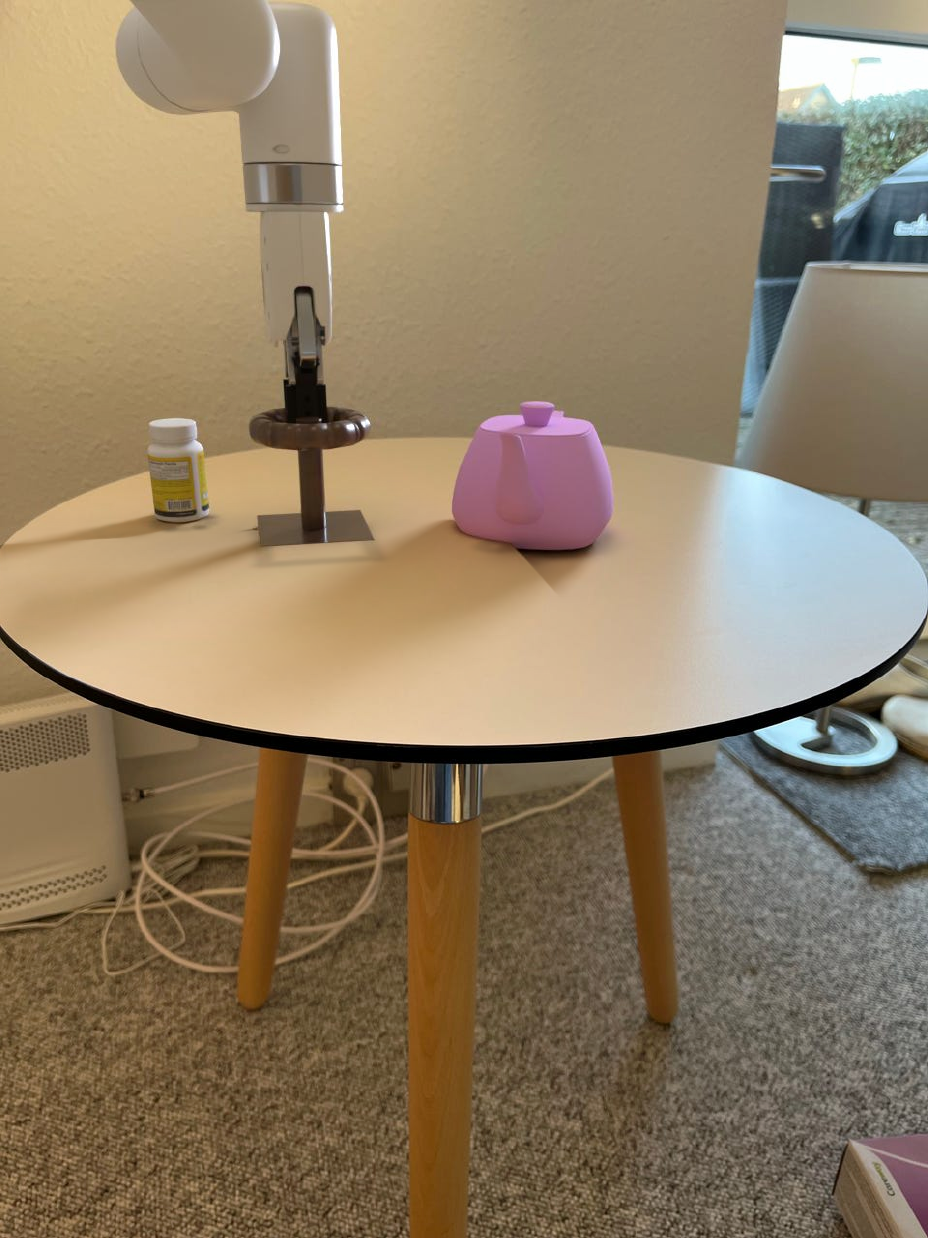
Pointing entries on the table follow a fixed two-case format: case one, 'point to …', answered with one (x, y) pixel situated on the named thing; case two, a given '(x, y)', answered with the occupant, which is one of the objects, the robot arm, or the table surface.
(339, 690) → the table surface
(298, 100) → the robot arm
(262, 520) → the stand
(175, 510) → the supplement bottle
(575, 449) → the teapot
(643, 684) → the table surface
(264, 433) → the ring
